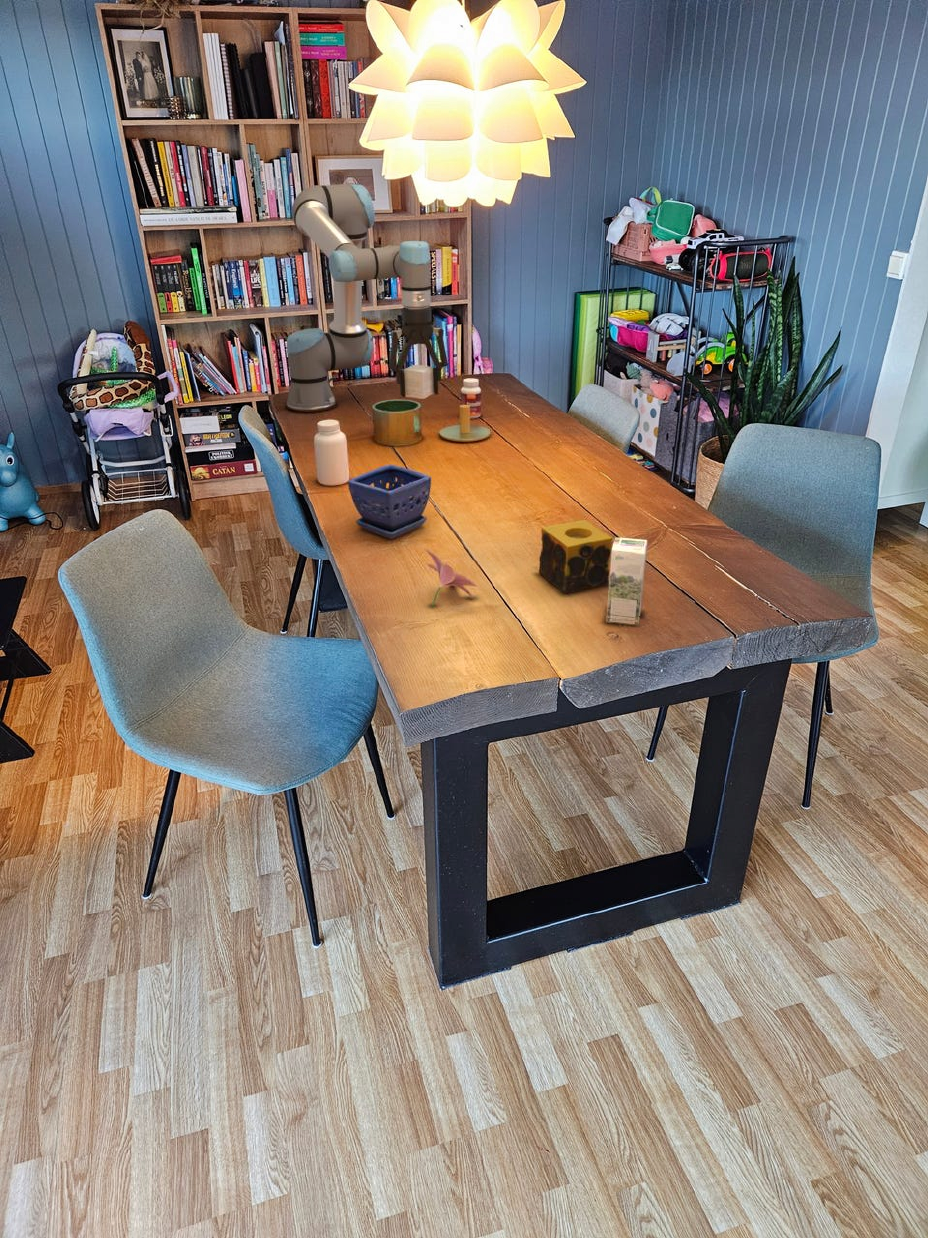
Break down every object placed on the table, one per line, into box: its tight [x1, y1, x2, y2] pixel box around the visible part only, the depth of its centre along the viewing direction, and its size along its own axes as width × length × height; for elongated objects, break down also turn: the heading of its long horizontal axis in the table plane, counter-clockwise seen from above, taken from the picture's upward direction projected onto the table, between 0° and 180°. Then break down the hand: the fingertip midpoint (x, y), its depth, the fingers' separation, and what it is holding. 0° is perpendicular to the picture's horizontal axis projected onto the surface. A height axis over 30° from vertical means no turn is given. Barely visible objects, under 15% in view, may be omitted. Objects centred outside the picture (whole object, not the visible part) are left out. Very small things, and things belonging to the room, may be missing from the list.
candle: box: [538, 519, 613, 594], centre depth 168 cm, size 10×10×10 cm
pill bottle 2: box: [460, 377, 482, 419], centre depth 268 cm, size 6×6×11 cm
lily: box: [424, 548, 478, 607], centre depth 162 cm, size 12×12×10 cm
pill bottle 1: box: [313, 419, 350, 487], centre depth 218 cm, size 8×8×15 cm
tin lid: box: [439, 404, 491, 443], centre depth 251 cm, size 15×15×9 cm
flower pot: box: [347, 464, 432, 540], centre depth 191 cm, size 13×13×12 cm
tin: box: [371, 399, 423, 447], centre depth 249 cm, size 14×14×10 cm
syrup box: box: [605, 536, 648, 627], centre depth 153 cm, size 6×6×14 cm
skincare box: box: [402, 364, 434, 400], centre depth 236 cm, size 6×6×7 cm
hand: (419, 394), depth 238 cm, fingers closed on skincare box, 8 cm apart
